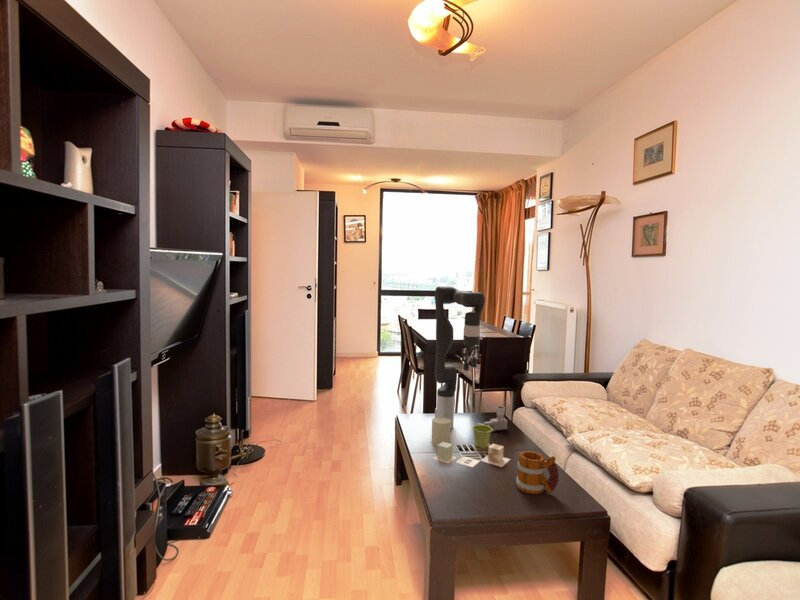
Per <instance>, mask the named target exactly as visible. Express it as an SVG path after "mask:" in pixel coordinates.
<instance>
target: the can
mask: <svg viewBox="0 0 800 600" xmlns="http://www.w3.org/2000/svg"><path fill="white" fill-rule="evenodd" d="M450 427H451V420H450V419H448V418H444V417H436V418H435V417H433V418H432V419H431V441H430V443H431V444H432V445H433V446H435V447H438V444H440V443H442V442H446V443H450V444H451V429H450Z"/></svg>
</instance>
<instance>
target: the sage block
mask: <svg viewBox="0 0 800 600" xmlns="http://www.w3.org/2000/svg"><path fill="white" fill-rule="evenodd" d="M453 447H454V444H452V443H451V442H450V443H446V442H442V443H440V444H438V446H436V448H437V451H436V456H437V458H438V459H441V460H445V461H448V460H449V459H451V458H452V456H454V455H453V452H454V449H453Z"/></svg>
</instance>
